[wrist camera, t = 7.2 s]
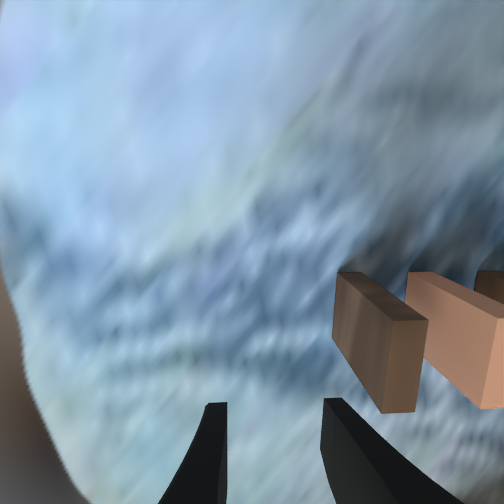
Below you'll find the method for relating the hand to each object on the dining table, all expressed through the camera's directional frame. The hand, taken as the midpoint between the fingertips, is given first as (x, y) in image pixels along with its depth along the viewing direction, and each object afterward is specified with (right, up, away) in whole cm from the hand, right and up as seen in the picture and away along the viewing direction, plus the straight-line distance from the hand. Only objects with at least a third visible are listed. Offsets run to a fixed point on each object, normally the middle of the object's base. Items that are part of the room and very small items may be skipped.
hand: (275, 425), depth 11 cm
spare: (+10, +2, +11) cm, 15 cm away
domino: (+5, +2, +10) cm, 12 cm away
